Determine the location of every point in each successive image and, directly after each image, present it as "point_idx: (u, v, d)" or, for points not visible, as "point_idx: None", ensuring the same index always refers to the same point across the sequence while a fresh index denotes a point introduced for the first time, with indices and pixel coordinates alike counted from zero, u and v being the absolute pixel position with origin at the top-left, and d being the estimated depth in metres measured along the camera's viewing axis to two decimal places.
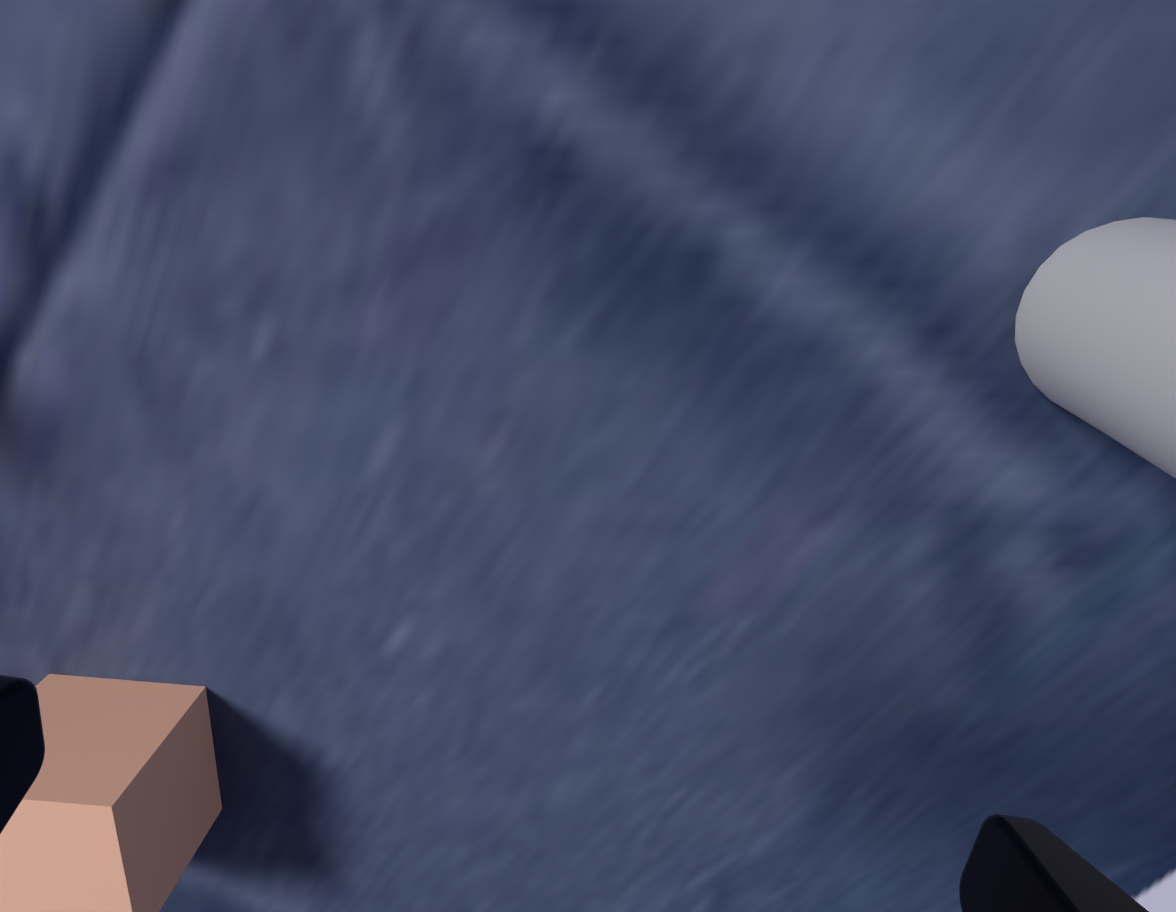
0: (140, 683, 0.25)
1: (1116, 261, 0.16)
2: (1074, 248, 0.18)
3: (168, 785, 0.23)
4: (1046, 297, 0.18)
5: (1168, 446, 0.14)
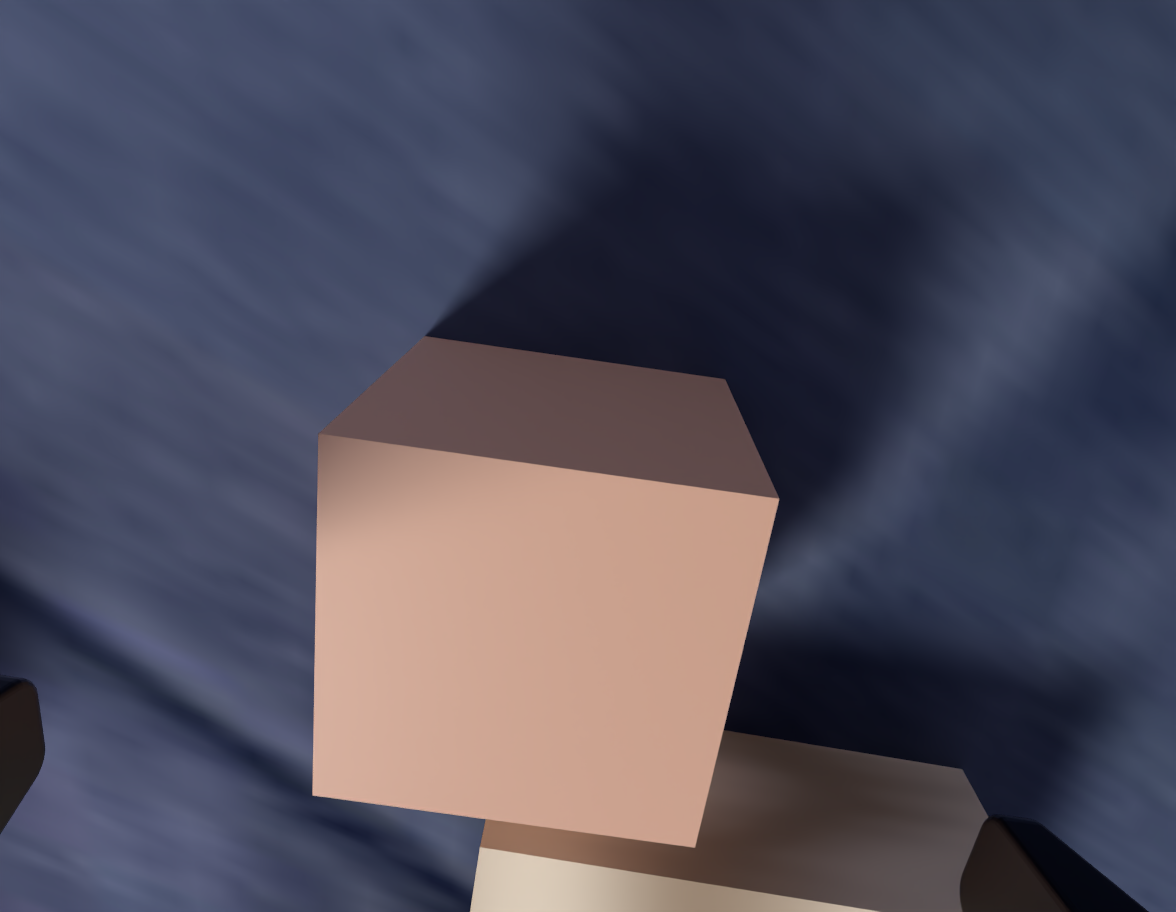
0: None
1: None
2: None
3: (495, 393, 0.11)
4: None
5: None
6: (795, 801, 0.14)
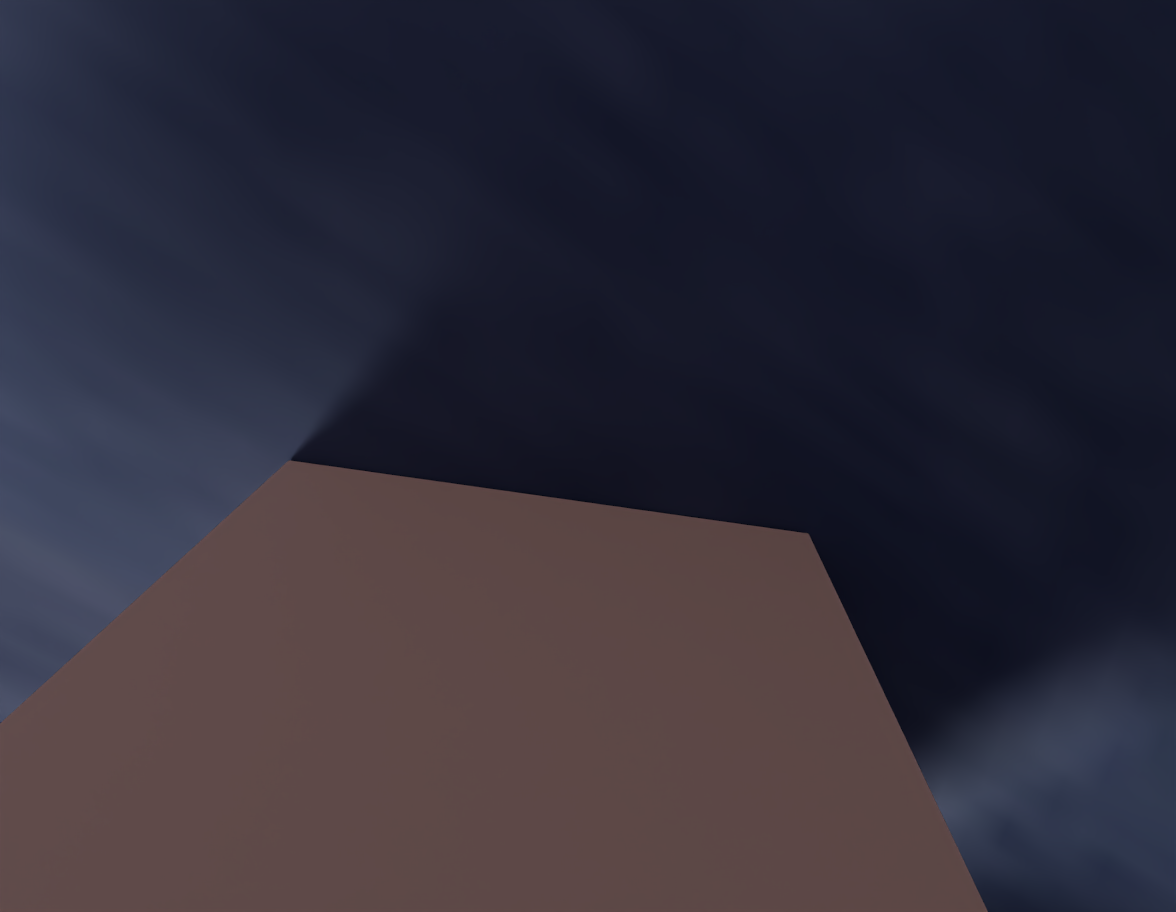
0: None
1: None
2: None
3: (366, 642, 0.05)
4: None
5: None
6: None
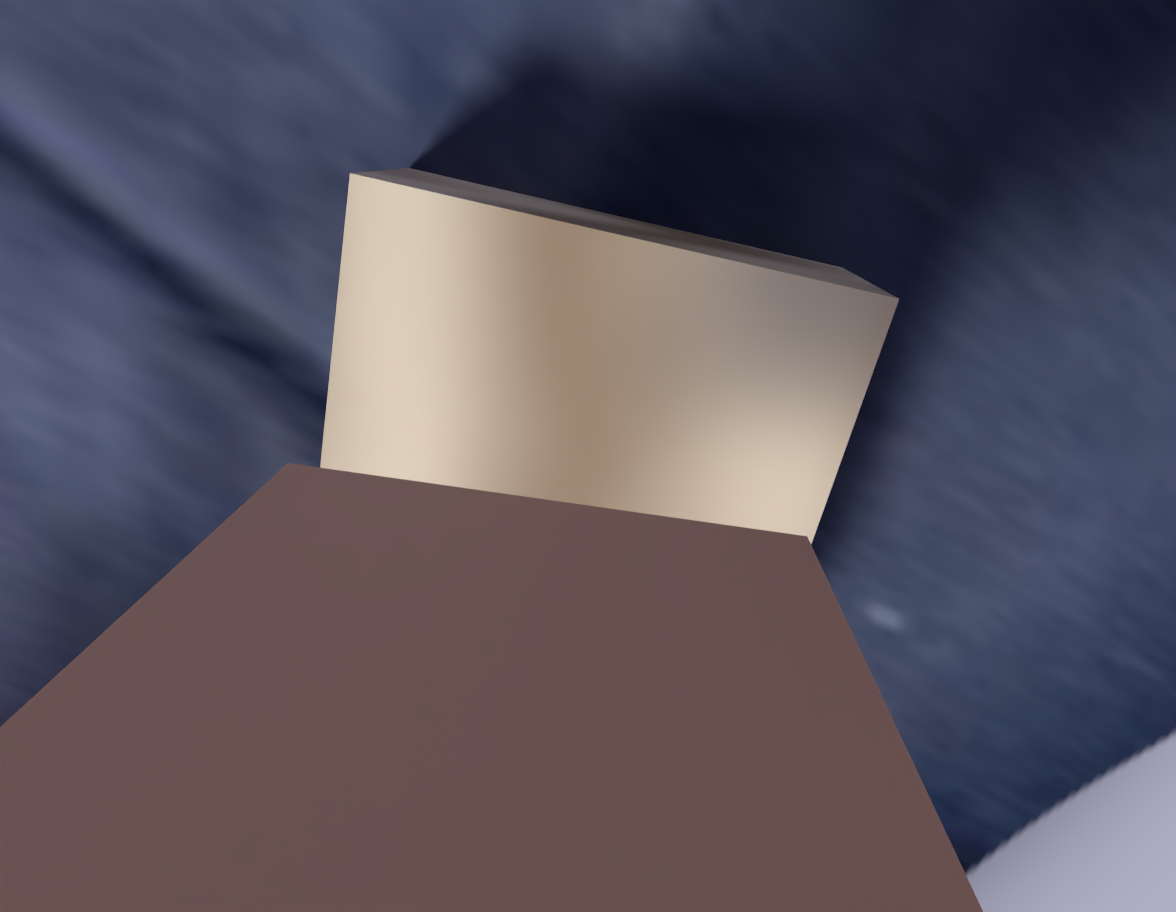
0: None
1: None
2: None
3: (364, 645, 0.05)
4: None
5: None
6: (671, 235, 0.15)
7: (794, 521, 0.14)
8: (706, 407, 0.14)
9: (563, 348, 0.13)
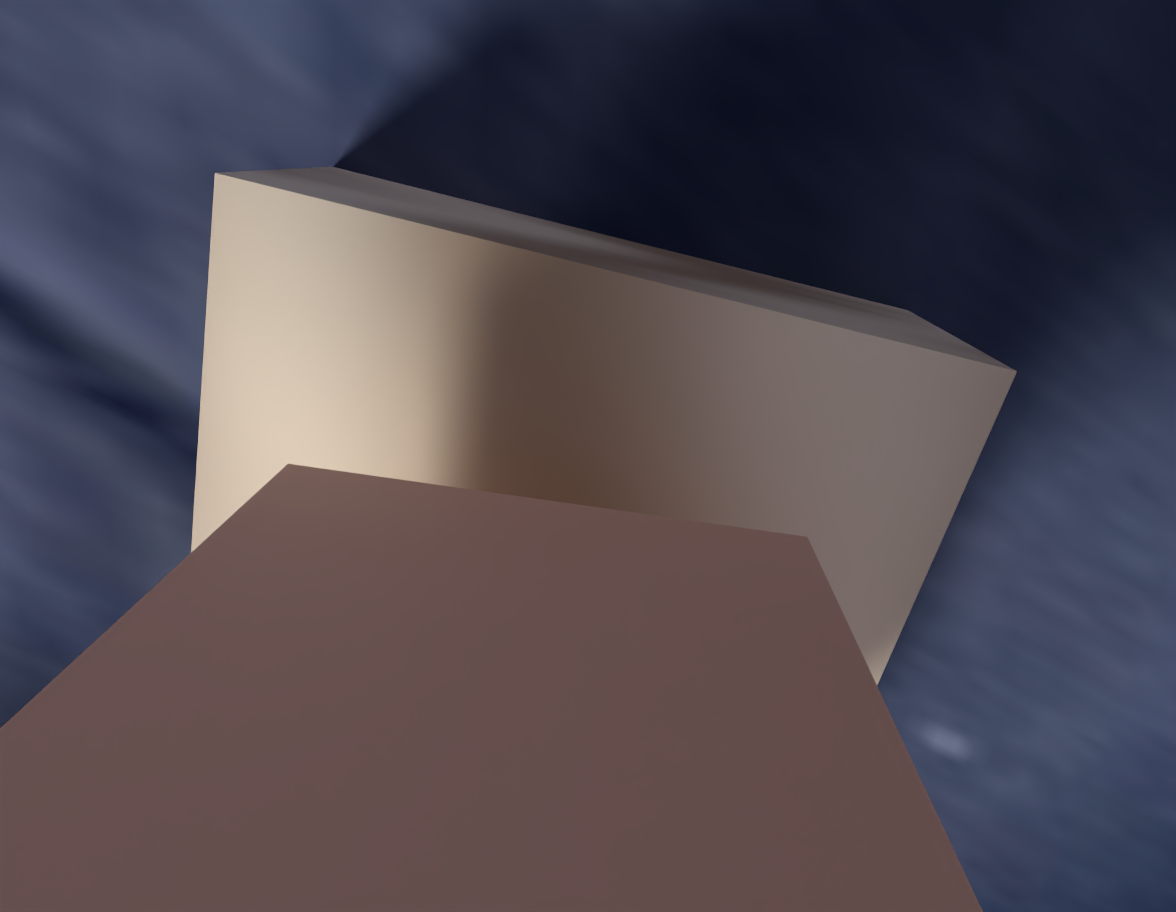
0: None
1: None
2: None
3: (364, 646, 0.05)
4: None
5: None
6: (684, 267, 0.11)
7: None
8: (731, 515, 0.10)
9: (529, 429, 0.09)
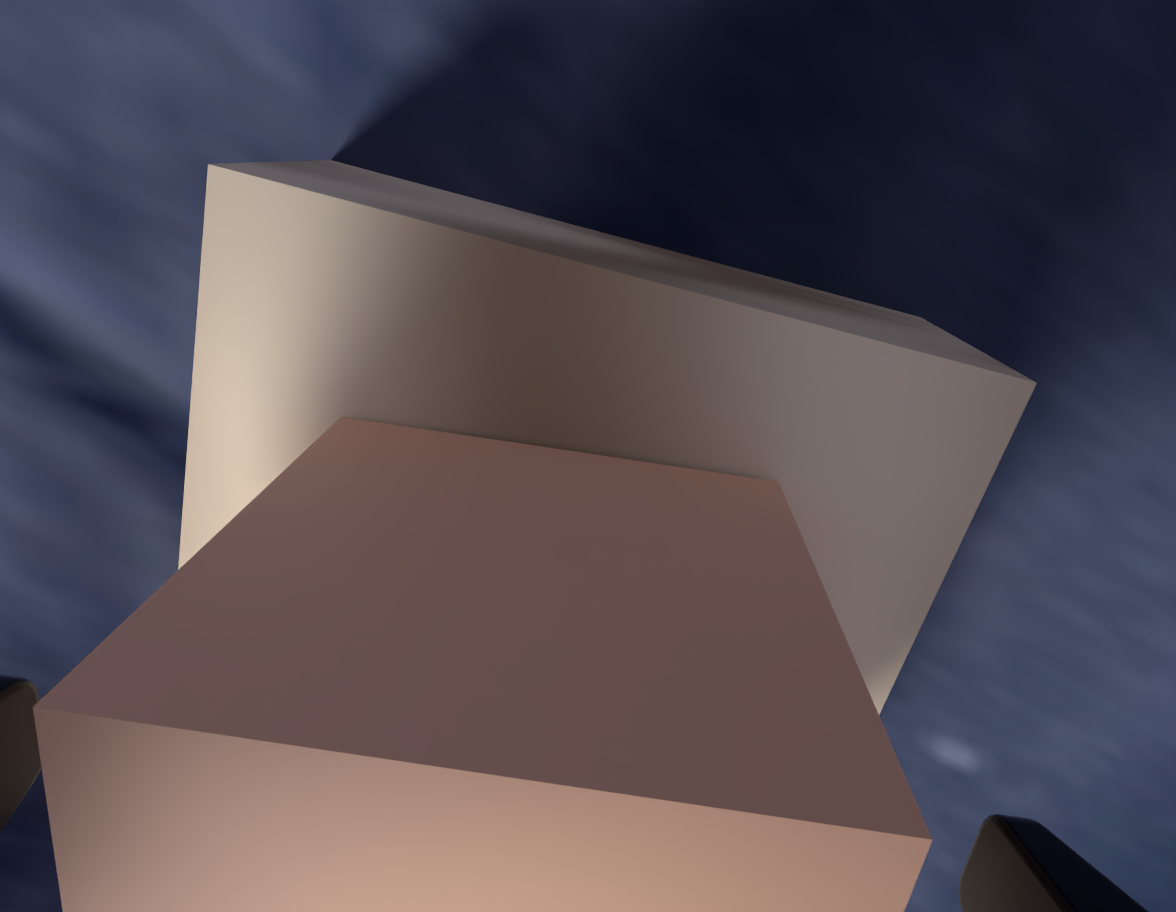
0: None
1: None
2: None
3: (419, 545, 0.07)
4: None
5: None
6: (692, 268, 0.10)
7: None
8: None
9: (530, 435, 0.09)
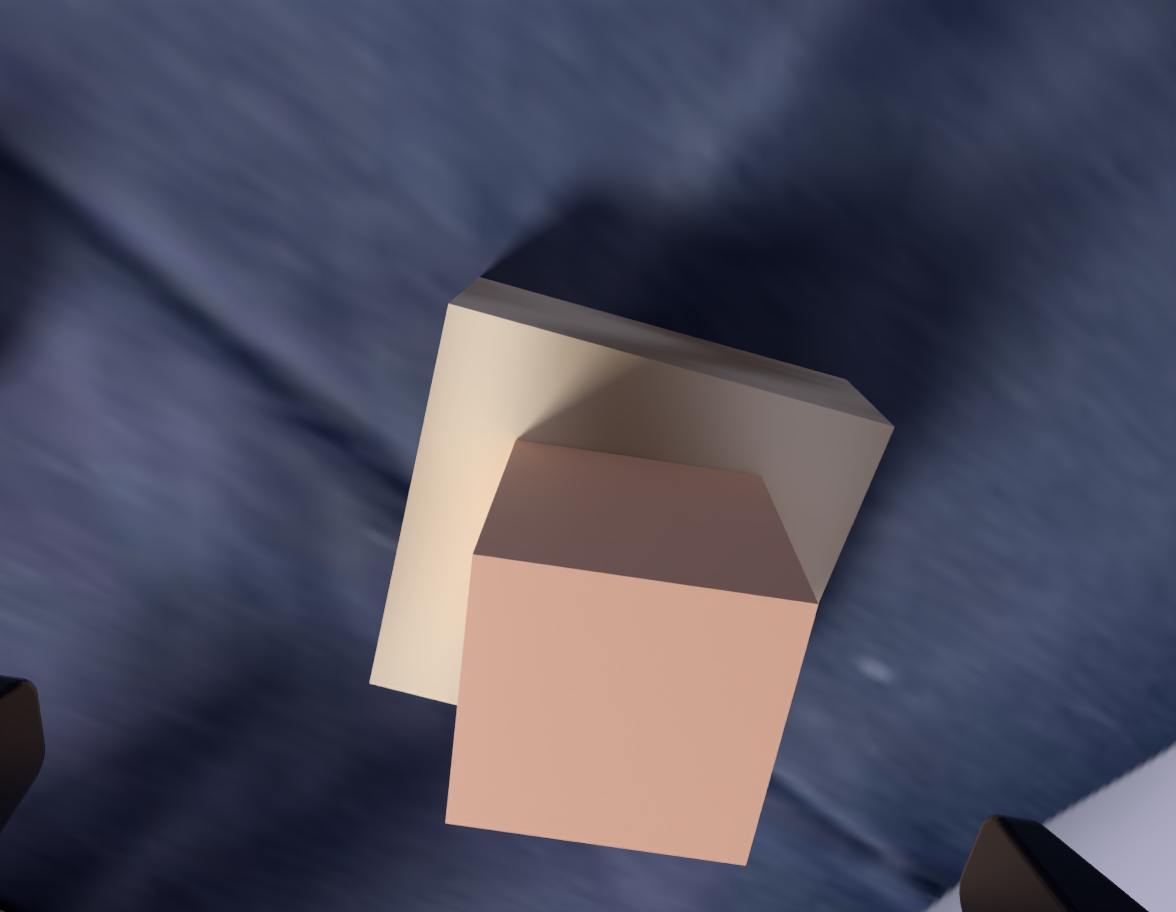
0: None
1: None
2: None
3: (587, 502, 0.14)
4: None
5: None
6: (705, 353, 0.17)
7: None
8: None
9: (614, 451, 0.16)
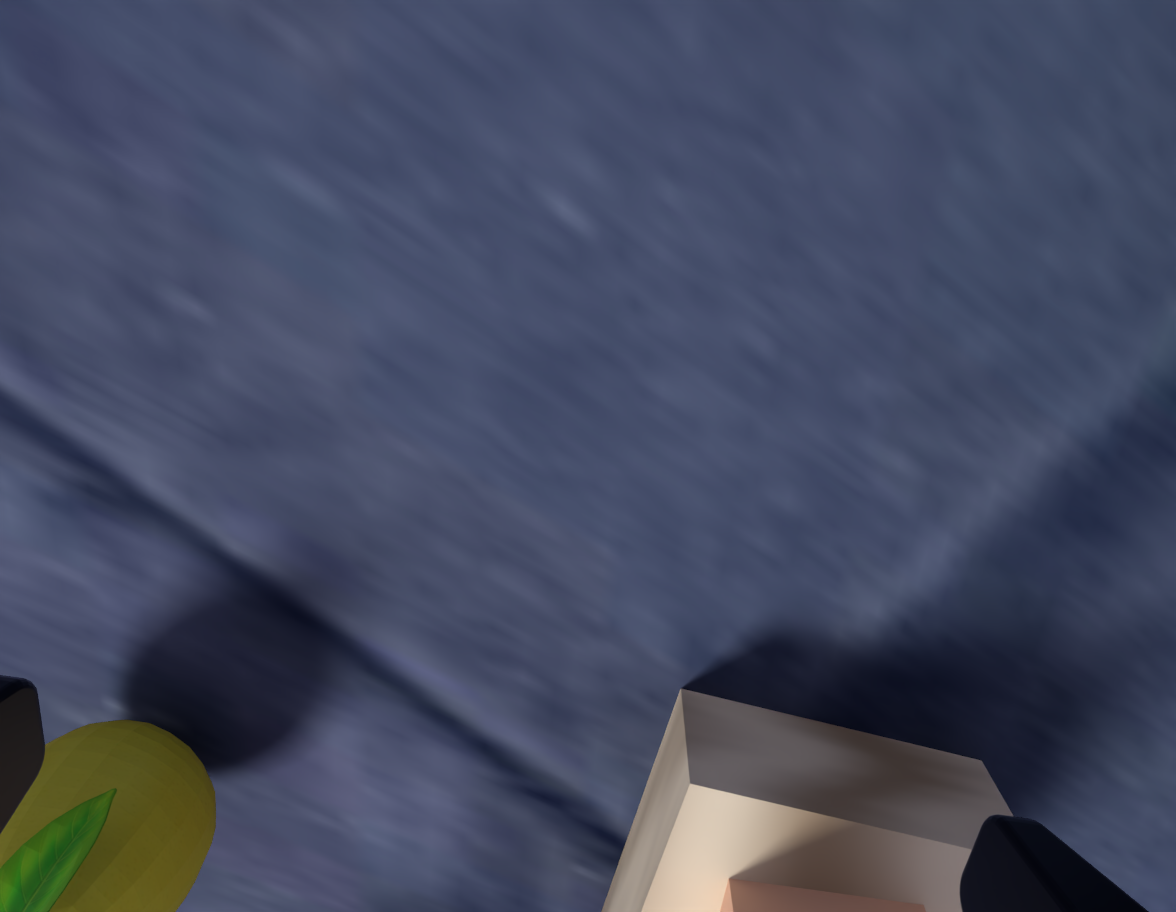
0: None
1: None
2: None
3: None
4: None
5: None
6: (875, 771, 0.21)
7: None
8: None
9: (814, 878, 0.20)
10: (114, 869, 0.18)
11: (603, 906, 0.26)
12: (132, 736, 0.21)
